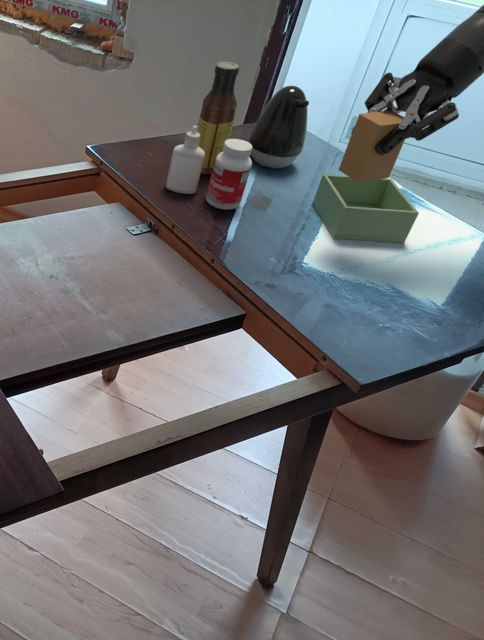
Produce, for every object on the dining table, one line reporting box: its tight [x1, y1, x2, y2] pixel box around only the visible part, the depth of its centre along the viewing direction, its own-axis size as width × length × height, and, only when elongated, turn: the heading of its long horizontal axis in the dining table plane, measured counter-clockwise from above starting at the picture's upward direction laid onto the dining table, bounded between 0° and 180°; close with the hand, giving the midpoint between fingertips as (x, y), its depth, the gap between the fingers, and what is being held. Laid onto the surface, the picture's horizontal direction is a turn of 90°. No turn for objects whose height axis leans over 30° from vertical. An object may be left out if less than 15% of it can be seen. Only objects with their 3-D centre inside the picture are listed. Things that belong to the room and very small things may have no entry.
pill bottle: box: [205, 138, 253, 211], centre depth 120 cm, size 6×6×11 cm
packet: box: [338, 110, 406, 183], centre depth 104 cm, size 4×6×9 cm
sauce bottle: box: [197, 61, 240, 174], centre depth 127 cm, size 7×6×20 cm
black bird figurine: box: [248, 85, 310, 169], centre depth 132 cm, size 10×10×15 cm
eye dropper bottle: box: [165, 125, 205, 195], centre depth 123 cm, size 4×6×12 cm
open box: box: [312, 173, 420, 244], centre depth 119 cm, size 12×12×6 cm
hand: (366, 144), depth 103 cm, fingers closed on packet, 4 cm apart
